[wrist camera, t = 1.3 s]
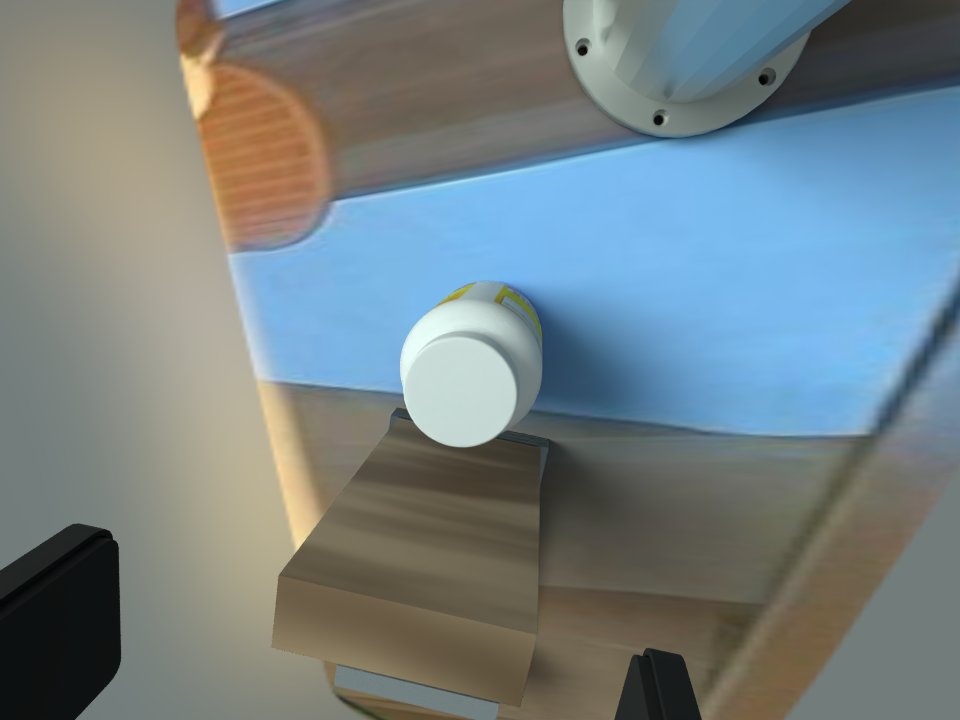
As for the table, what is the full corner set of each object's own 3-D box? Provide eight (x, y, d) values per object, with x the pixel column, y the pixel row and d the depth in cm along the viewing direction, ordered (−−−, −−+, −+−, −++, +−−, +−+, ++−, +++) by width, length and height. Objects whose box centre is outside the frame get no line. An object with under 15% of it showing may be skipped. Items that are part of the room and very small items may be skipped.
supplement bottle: (429, 375, 36) (369, 455, 24) (442, 272, 34) (384, 299, 22) (534, 392, 36) (528, 483, 23) (551, 288, 34) (555, 325, 22)
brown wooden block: (398, 417, 35) (278, 575, 19) (540, 447, 35) (537, 635, 19) (391, 461, 36) (271, 647, 20) (531, 491, 35) (520, 707, 20)
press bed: (397, 407, 37) (366, 445, 31) (548, 439, 36) (549, 484, 30) (366, 614, 41) (334, 685, 34) (502, 646, 40) (494, 724, 34)
